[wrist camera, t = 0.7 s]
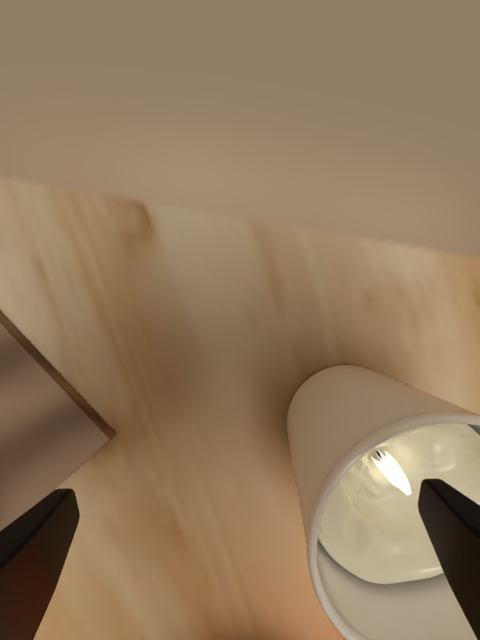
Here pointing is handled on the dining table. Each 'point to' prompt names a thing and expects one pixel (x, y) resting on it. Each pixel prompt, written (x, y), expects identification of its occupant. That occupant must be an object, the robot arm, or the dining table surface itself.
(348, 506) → the white cup
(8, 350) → the switch base
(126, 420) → the dining table surface
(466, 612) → the robot arm
